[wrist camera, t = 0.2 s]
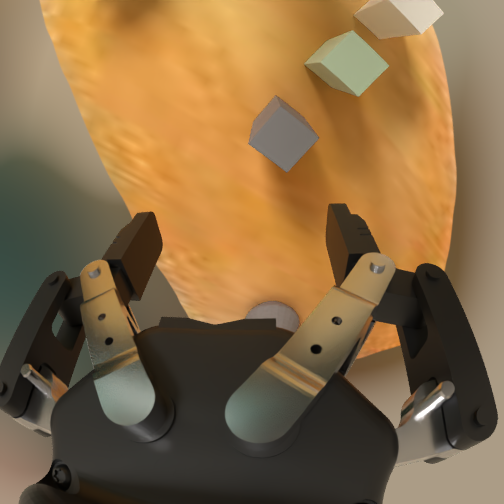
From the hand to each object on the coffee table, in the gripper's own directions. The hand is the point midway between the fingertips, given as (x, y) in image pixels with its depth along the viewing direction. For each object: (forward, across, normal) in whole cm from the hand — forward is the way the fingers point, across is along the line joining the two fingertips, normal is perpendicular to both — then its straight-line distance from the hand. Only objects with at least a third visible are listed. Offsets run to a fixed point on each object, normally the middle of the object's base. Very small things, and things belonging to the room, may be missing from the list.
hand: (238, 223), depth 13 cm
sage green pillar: (+29, -10, -7) cm, 31 cm away
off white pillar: (+29, -17, -16) cm, 37 cm away
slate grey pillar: (+28, -3, +1) cm, 29 cm away
